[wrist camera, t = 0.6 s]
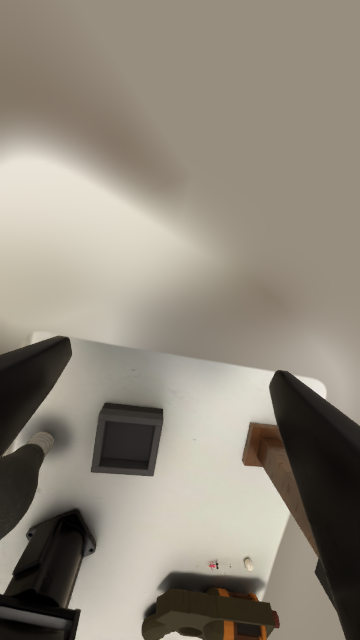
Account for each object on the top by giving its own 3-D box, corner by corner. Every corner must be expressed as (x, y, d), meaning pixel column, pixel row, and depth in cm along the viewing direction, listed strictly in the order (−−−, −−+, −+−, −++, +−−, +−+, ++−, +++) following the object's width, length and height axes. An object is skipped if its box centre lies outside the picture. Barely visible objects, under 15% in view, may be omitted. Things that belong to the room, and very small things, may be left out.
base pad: (154, 460, 24) (153, 476, 22) (97, 456, 23) (90, 472, 21) (163, 408, 23) (163, 420, 21) (105, 402, 23) (98, 413, 20)
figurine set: (252, 559, 27) (250, 559, 27) (198, 560, 26) (196, 559, 27) (255, 574, 26) (252, 574, 26) (198, 575, 25) (197, 574, 26)
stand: (279, 463, 26) (364, 581, 15) (241, 460, 25) (302, 581, 14) (288, 426, 25) (382, 520, 15) (250, 422, 25) (319, 517, 14)
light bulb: (67, 411, 22) (-8, 501, 12) (74, 454, 23) (7, 571, 13) (17, 418, 22) (-103, 516, 12) (26, 461, 22) (-82, 588, 12)
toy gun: (260, 685, 25) (290, 649, 22) (134, 670, 24) (150, 630, 21) (248, 621, 29) (271, 585, 27) (141, 606, 28) (155, 567, 26)
